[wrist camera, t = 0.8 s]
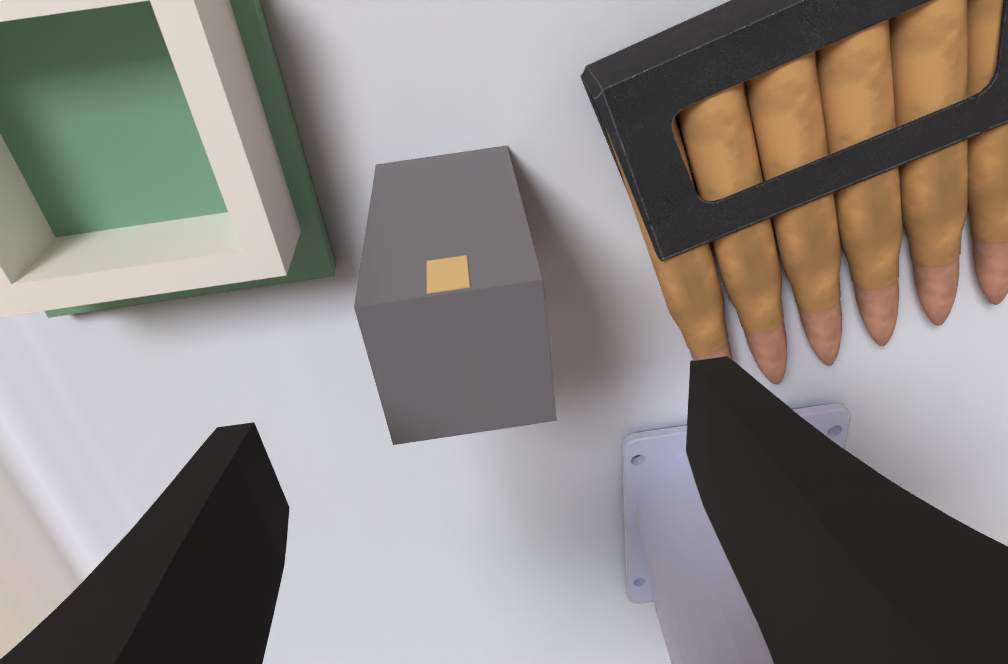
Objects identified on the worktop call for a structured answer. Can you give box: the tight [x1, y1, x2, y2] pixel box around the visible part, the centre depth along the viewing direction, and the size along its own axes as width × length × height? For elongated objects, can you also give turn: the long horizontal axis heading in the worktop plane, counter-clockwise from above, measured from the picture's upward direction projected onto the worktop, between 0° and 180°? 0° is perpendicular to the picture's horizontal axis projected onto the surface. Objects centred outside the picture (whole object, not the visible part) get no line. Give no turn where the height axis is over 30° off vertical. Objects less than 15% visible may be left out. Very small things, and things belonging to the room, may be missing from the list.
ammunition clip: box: [580, 0, 1008, 384], centre depth 20 cm, size 11×2×12 cm
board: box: [0, 0, 336, 318], centre depth 16 cm, size 10×8×3 cm
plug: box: [354, 146, 557, 445], centre depth 17 cm, size 4×4×7 cm
